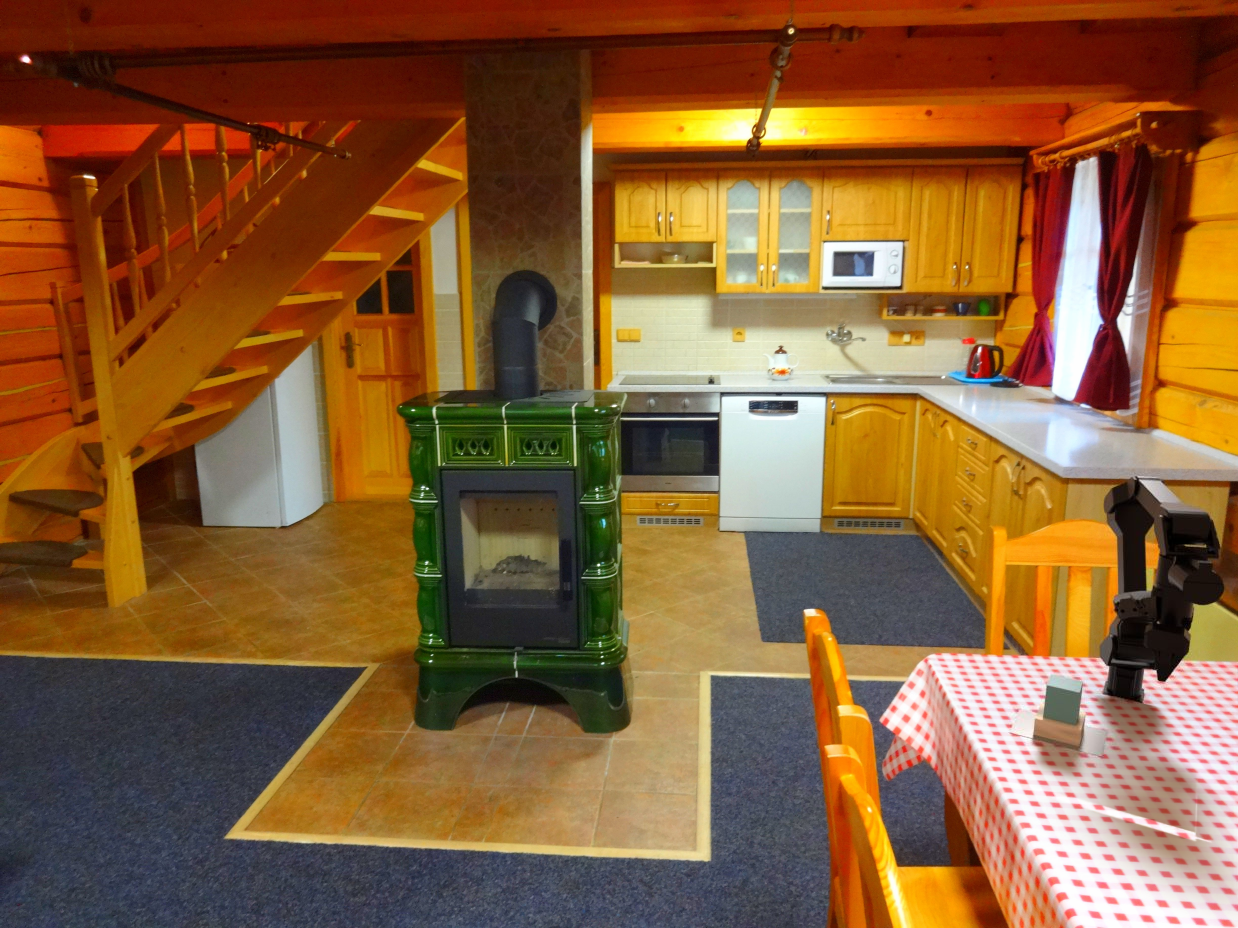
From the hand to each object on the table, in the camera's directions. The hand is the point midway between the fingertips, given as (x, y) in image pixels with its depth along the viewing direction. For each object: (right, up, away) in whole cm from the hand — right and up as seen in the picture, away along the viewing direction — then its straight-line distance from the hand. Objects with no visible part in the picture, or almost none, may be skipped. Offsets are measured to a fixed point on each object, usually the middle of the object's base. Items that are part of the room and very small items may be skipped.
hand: (1163, 670), depth 147 cm
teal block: (-16, -8, +2) cm, 18 cm away
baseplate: (-16, -12, +3) cm, 20 cm away
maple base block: (-16, -11, +3) cm, 20 cm away
